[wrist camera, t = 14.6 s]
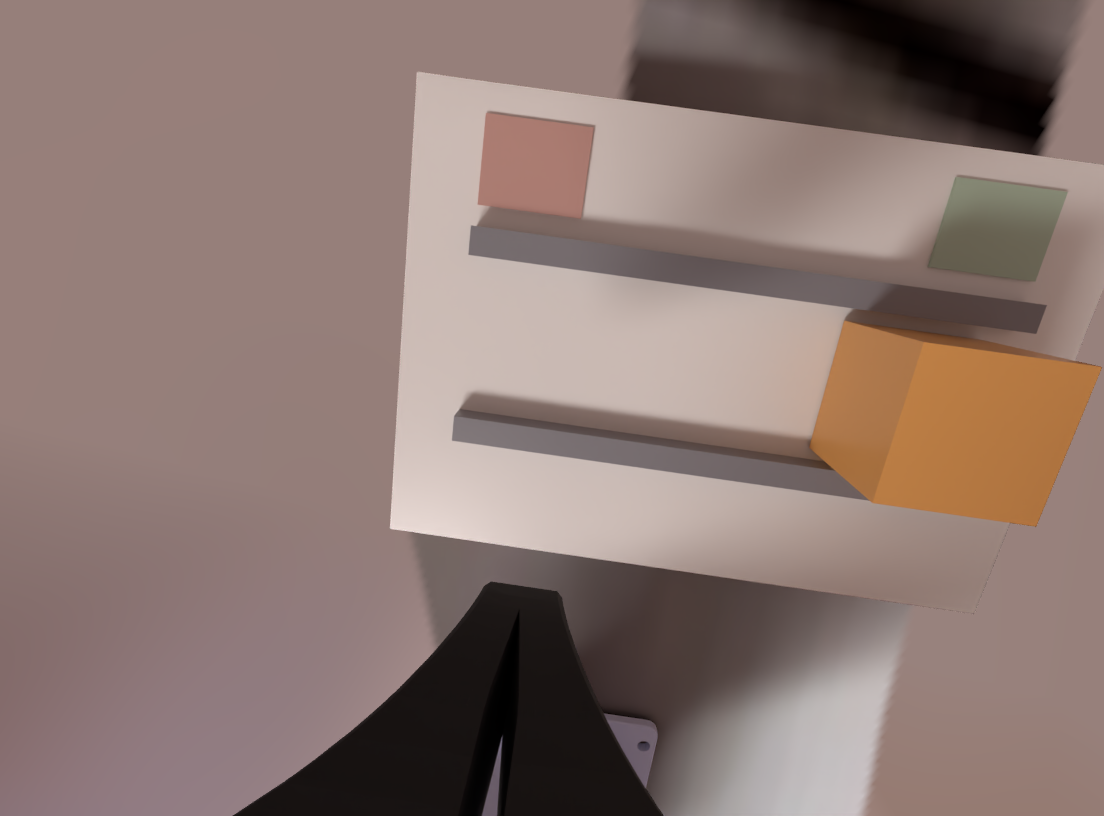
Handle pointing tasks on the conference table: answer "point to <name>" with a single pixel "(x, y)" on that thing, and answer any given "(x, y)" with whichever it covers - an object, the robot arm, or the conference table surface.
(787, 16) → the conference table surface
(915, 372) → the orange cube
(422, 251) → the plate
